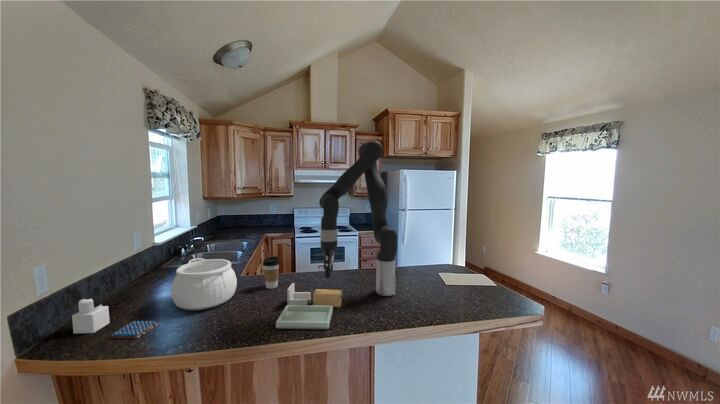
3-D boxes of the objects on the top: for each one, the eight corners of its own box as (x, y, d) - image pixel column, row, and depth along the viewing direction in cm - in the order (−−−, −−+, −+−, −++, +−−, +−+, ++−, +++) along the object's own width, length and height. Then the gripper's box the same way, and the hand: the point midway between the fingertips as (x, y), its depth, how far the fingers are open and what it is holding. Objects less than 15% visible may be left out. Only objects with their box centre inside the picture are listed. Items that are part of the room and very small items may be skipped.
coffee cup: (283, 284, 144) (282, 257, 143) (272, 290, 137) (271, 262, 135) (271, 282, 148) (270, 255, 147) (259, 287, 140) (259, 260, 139)
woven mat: (160, 324, 105) (160, 319, 105) (137, 340, 95) (137, 335, 95) (135, 324, 106) (134, 319, 106) (109, 340, 95) (108, 334, 95)
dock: (310, 299, 127) (310, 283, 126) (306, 307, 118) (306, 290, 118) (292, 299, 127) (292, 282, 126) (287, 307, 119) (287, 289, 118)
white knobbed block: (90, 323, 105) (88, 294, 104) (110, 323, 106) (108, 293, 105) (72, 334, 98) (70, 302, 97) (93, 333, 99) (91, 301, 98)
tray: (332, 311, 115) (332, 305, 115) (328, 329, 101) (328, 322, 101) (286, 310, 116) (286, 305, 116) (275, 328, 102) (275, 322, 102)
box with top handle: (343, 302, 124) (342, 289, 124) (341, 307, 119) (341, 294, 119) (315, 301, 125) (315, 289, 124) (313, 306, 120) (313, 293, 119)
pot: (247, 300, 126) (246, 264, 124) (182, 322, 106) (179, 280, 105) (224, 284, 145) (222, 253, 144) (165, 300, 126) (163, 264, 125)
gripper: (335, 242, 113) (335, 280, 114) (338, 235, 127) (338, 269, 128) (317, 242, 113) (317, 279, 114) (323, 235, 127) (323, 269, 128)
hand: (329, 274), depth 121 cm, fingers open, 8 cm apart
